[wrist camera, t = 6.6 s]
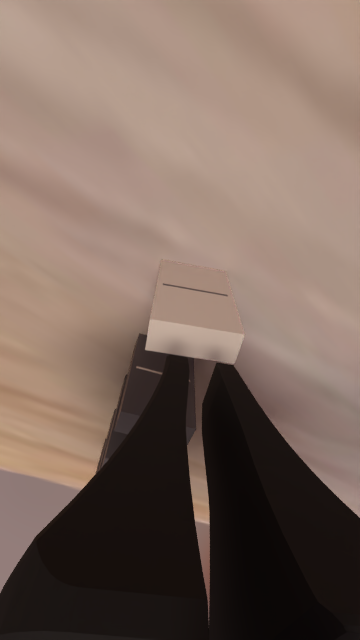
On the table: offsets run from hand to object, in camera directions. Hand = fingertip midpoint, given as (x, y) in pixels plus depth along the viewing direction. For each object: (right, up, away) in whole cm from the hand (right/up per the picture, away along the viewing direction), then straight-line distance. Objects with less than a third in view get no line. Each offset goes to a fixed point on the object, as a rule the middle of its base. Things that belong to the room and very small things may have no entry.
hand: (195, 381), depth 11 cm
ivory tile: (0, +5, +8) cm, 9 cm away
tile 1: (-2, 0, +11) cm, 11 cm away
